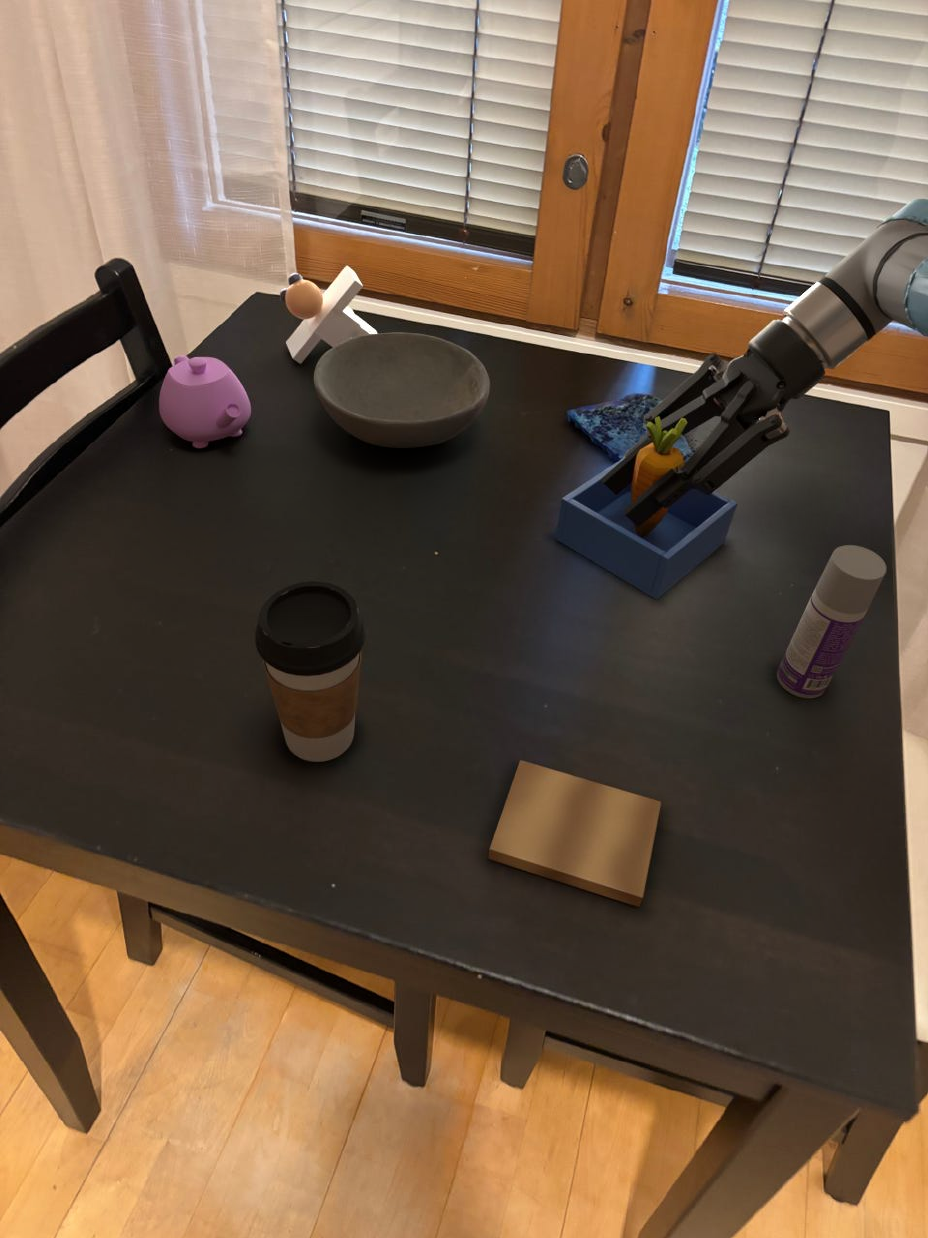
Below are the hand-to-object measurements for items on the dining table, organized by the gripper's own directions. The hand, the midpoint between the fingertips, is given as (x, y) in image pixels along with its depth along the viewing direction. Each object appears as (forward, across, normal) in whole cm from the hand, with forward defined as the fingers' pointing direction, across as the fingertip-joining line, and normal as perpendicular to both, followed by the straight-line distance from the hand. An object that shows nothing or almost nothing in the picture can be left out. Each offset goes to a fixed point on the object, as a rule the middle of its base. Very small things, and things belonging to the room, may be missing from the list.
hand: (619, 502), depth 93 cm
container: (-3, -23, -11) cm, 26 cm away
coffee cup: (+29, -18, +21) cm, 40 cm away
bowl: (+16, +27, +8) cm, 33 cm away
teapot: (+33, +31, +24) cm, 51 cm away
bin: (+2, 0, -7) cm, 7 cm away
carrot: (+1, 0, -6) cm, 7 cm away
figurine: (+19, +49, +11) cm, 54 cm away
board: (+17, -33, +8) cm, 38 cm away
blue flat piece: (-4, +19, -13) cm, 23 cm away
